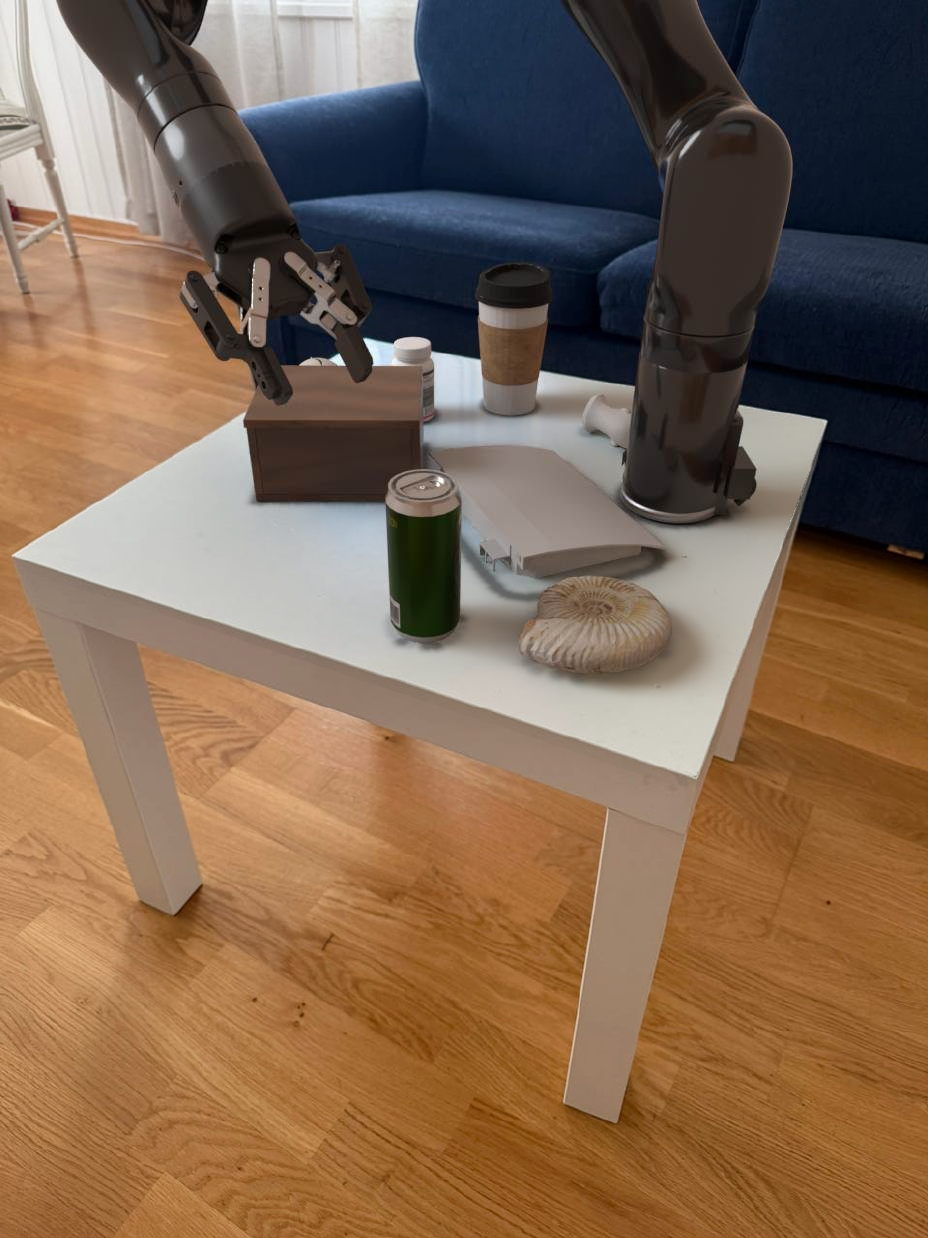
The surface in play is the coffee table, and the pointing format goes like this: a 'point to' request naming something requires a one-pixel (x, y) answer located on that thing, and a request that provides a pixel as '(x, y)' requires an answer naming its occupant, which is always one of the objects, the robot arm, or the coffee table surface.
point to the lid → (342, 399)
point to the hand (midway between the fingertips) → (326, 387)
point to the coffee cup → (512, 334)
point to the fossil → (596, 626)
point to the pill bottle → (418, 354)
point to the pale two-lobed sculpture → (607, 420)
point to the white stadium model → (539, 510)
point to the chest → (331, 462)
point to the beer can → (424, 554)
